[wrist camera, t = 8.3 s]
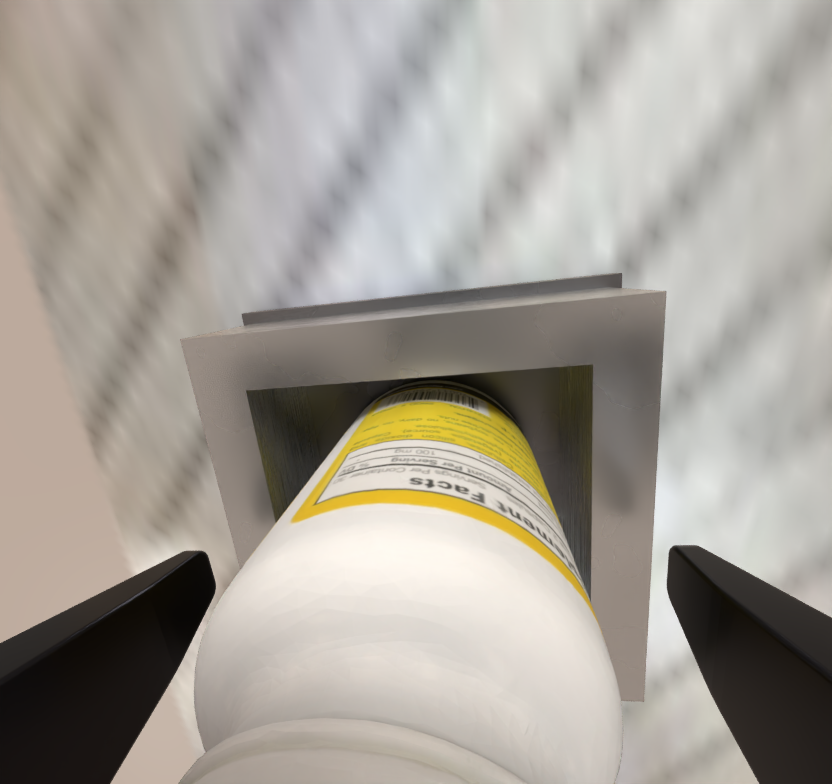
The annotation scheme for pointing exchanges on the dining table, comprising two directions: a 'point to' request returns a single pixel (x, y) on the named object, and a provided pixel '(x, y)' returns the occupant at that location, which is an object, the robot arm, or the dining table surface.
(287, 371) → the socket collar
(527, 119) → the dining table surface
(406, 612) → the supplement bottle
